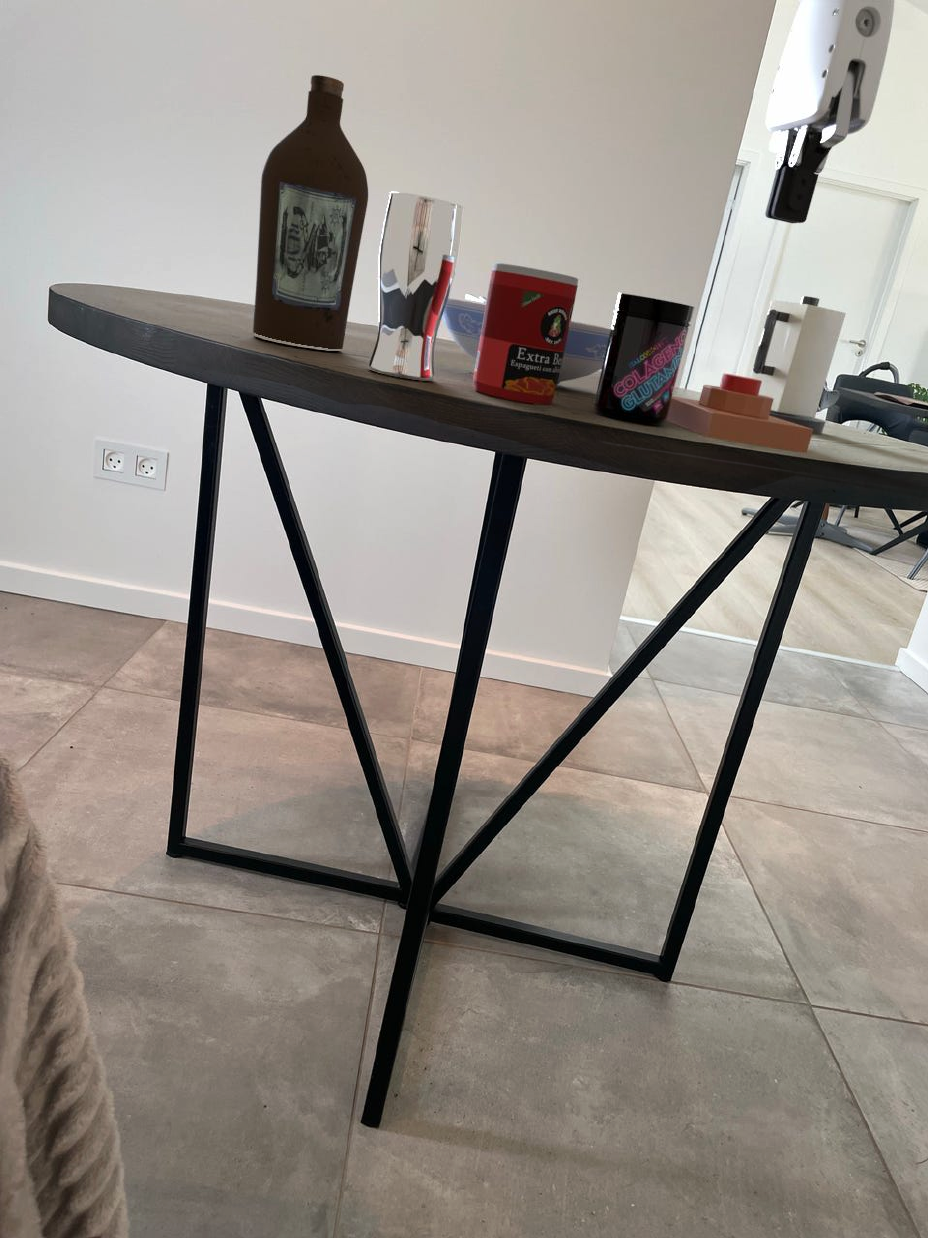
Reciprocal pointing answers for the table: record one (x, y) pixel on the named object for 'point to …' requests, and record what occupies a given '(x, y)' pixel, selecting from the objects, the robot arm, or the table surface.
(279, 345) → the table surface
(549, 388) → the canned food
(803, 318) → the kettle
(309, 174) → the olive oil
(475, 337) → the ramen bowl
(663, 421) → the supplement container
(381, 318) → the beer glass
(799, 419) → the kettle base
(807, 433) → the switch block
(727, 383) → the button
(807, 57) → the robot arm
